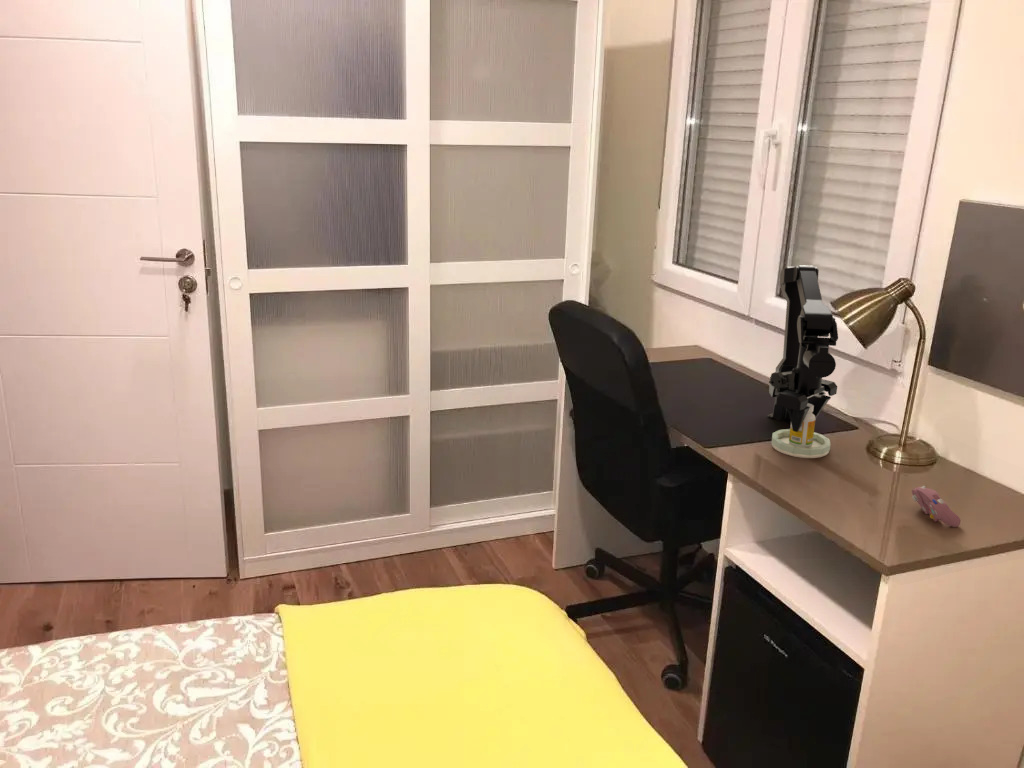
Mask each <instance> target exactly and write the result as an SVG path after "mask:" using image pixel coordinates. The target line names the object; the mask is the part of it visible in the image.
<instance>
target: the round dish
mask: <svg viewBox="0 0 1024 768" xmlns="http://www.w3.org/2000/svg"><path fill="white" fill-rule="evenodd" d="M789 435H790V428H786V429H778V430H776V431H775V432H772V436H771V447H772V448H773V449H774V450H776V451H777V452H779V453H780V454H784V455H787V456H790V457H795V458H801V459H816V458H818V459H819V458H822V457H825V456H827V455H829V453H830V451H831V440H830V438H828V437H826V436H825V435H823V434H821V433H818V432H815V431H814V436H813V444H812V445H811V446H809V447H798V446H794V445H792V444H790V443H789Z"/></svg>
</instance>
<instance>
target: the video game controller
mask: <svg viewBox="0 0 1024 768" xmlns="http://www.w3.org/2000/svg"><path fill="white" fill-rule="evenodd" d="M911 494H912V496H911V499H912V501H914V502H916V503H917V504H918V505H919V507H920V508H921V510H922V512H923V513H924V514H925V515H928V514H929V517H930V519H932V521H934V522H935V523H936V522H939V521H941V522H943V523H944V524H946V525H947V526H949V527H953V528H957V527H959V526H960V525H961V520H962V519H961V518H960V516H959V515H958V514H957V513H955V512H954V511H953V510H952V509H951V508H950V507H949V506H948V505H949V504H947V502H946V501H944V499H942V497H941V496H940V494H939V493H938V492H937V491H936V490H934V489H932V488H930V487H929V488H927V487H926V486H925V485H923V486H918V487H916V488H914V489H913V488H912V489H911Z"/></svg>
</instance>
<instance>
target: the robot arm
mask: <svg viewBox="0 0 1024 768" xmlns="http://www.w3.org/2000/svg"><path fill="white" fill-rule="evenodd" d="M779 284H780V285H781V287H780V290H781V291H780V292H782V293H781V294H782V295H783V297H784V299H785V300H786V309H785V310H786V312H785V323H784V324H785V326H784V338H783V339H784V340H783V352H782V353H783V354H782V358H781V360H780V361H779V363H778V364H777V366H776V367H775V372H772V373H771V374H770V377H769V381H768V383H769V387H768V392H769V395H770V397H771V398H774V403H773V410H772V411H773V412H772V413H770V414H768V415H766V417H767V418H769V419H772V420H777V421H780V422H784V423H787V424H790V425H791V424H792V428H793V431H795V432H798V430H799V429H800V427H801V425H802V423H803V421H804V419H805V417H806V414H807V412H808V410H809V408H810V407H808V406H807V404H808V403H809V404H812V405H814V409H813V412H812V414H814V415H815V420H817V417H818V416H819V415H820V413H821V412H822V411H823V409H824V407H826V405H827V403H828V402H829V401H830V400H831V398H832V397H833V396H835V395H837V394H838V392H837V391H838V385H837V384H836V382H835V381H832V380H827V379H823V378H827V377H829V376H831V375H832V374H833V373H834V371H835V369H836V367H837V366H836V365H837V363H836V359H835V357H834V356H833V355H832V354H831V353H830V351H829V349H830V348H829V347H830V346H831V347H832V346H833V347H836V346H837V342H838V340H839V334H838V323H837V321H836V318H835V316H833V313H832V310H831V307H830V306H828V305H826V304H825V303H824V302H823V297H822V293H821V290H820V284H819V268H818V267H817V266H815V265H807V264H806V265H801V264H799V265H796V266H791V265H790V266H788V265H787V266H785V268H783V269H782V270H780V273H779ZM826 392H827V394H828V395H826Z"/></svg>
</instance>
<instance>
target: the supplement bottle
mask: <svg viewBox="0 0 1024 768" xmlns="http://www.w3.org/2000/svg"><path fill="white" fill-rule="evenodd" d="M807 406H808V407H810V408H809V410H808V412H807V414H806V417H805V419H804V421H803V423H802V425H801V427H800V429H799V430H798V432H795V431H793V428H792V424H791V423H790V428H789V429H790V435H789V443H790V444H792V445H794V446H798V447H809V446H811V445H812V444H813V436H814V432H815V427H816V426H815V425H816V419H815V415H814V414H812V412H813V409H814V405H812V404H809V403H808V404H807Z"/></svg>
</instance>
